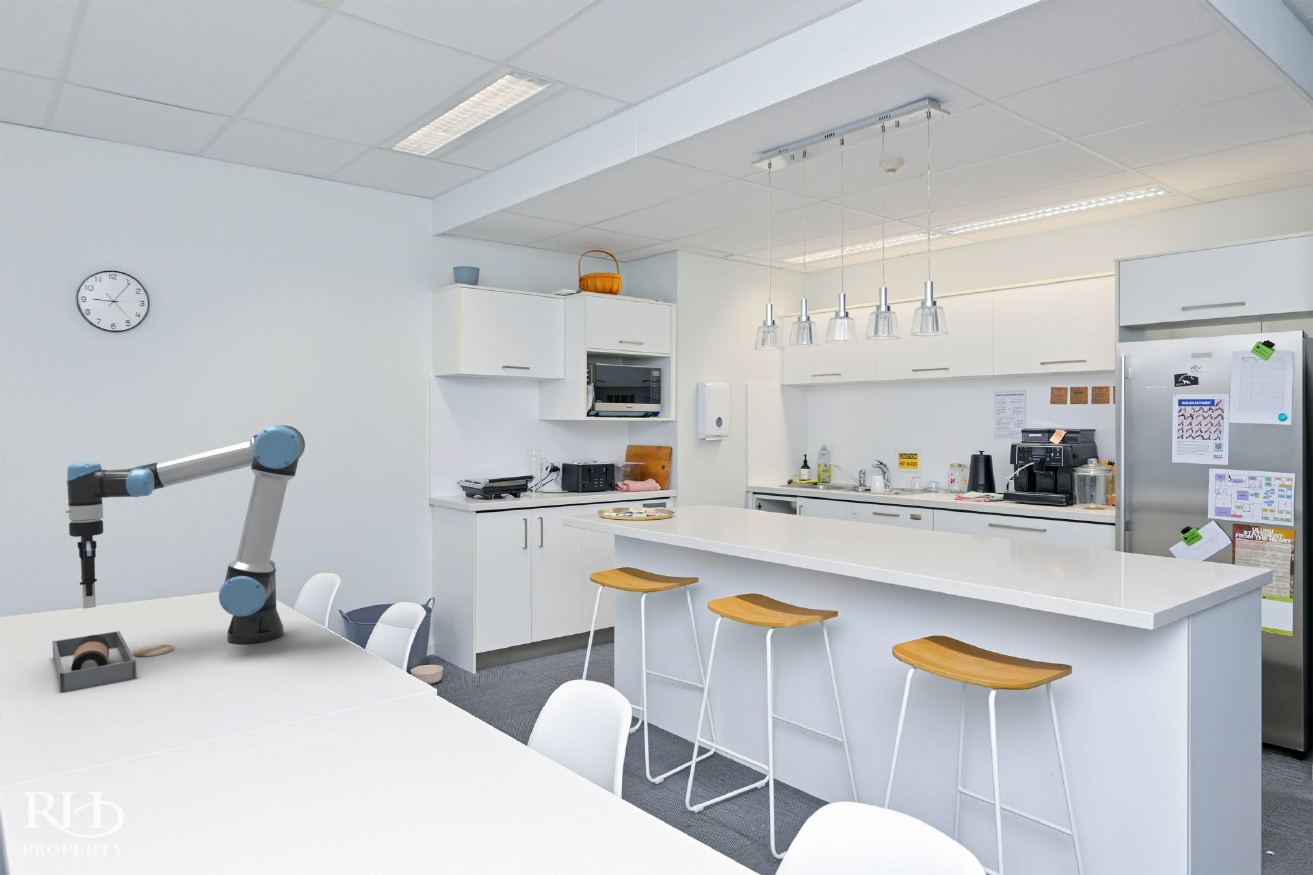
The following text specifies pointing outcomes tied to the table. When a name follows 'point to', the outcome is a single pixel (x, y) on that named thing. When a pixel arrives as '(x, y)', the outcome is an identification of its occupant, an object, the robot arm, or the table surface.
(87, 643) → the travel mug
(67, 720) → the table surface
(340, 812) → the table surface
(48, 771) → the table surface
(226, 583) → the robot arm
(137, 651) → the cork coaster
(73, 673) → the tray
